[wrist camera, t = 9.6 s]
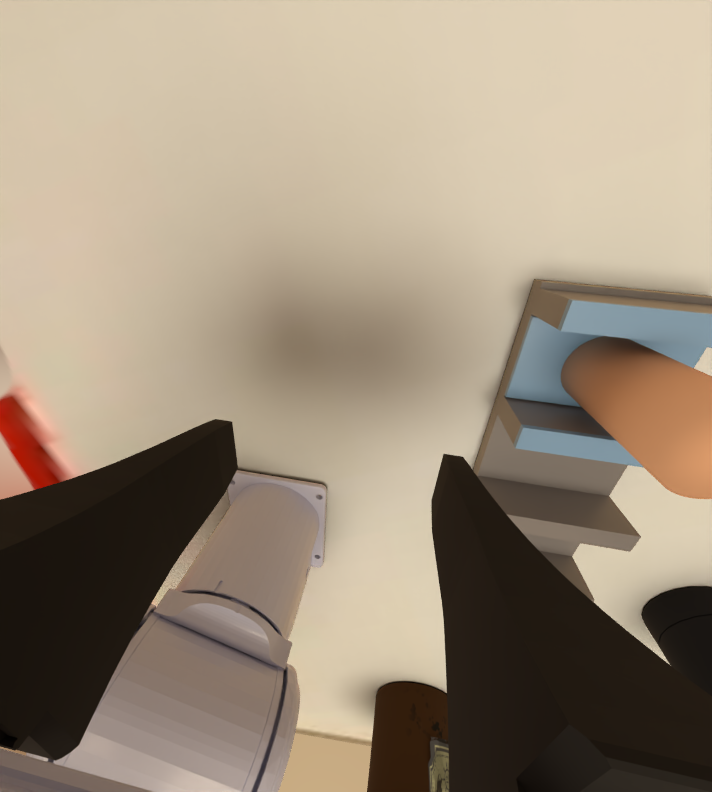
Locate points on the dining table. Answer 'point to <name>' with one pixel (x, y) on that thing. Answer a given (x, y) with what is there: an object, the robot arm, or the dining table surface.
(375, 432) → the dining table surface
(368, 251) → the dining table surface
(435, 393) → the dining table surface
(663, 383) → the tan rounded cylinder
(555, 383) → the grey slotted rack
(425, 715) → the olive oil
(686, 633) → the wine bottle
